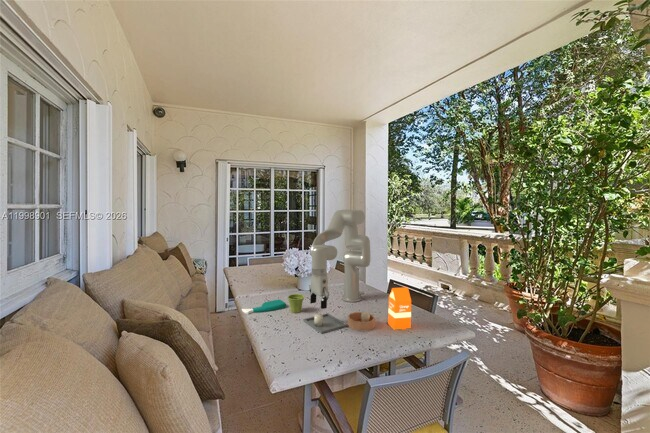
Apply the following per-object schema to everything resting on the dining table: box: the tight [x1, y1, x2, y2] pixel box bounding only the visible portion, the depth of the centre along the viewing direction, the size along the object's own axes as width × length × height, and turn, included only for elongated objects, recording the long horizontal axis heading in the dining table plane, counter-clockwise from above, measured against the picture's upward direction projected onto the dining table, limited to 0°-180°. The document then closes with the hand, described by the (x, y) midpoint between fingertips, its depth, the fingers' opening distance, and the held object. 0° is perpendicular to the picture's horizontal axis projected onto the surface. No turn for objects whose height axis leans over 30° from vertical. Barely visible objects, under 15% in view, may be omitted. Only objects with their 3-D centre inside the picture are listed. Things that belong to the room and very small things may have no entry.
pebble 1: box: [313, 313, 323, 327], centre depth 147 cm, size 4×4×5 cm
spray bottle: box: [241, 299, 287, 315], centre depth 171 cm, size 3×11×24 cm
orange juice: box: [387, 286, 412, 331], centre depth 148 cm, size 8×9×20 cm
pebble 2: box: [361, 311, 371, 322], centre depth 150 cm, size 4×4×5 cm
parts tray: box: [302, 313, 348, 335], centre depth 149 cm, size 16×18×2 cm
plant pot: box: [287, 293, 305, 314], centre depth 167 cm, size 9×9×9 cm
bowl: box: [347, 311, 376, 332], centre depth 149 cm, size 13×13×4 cm
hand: (318, 305), depth 146 cm, fingers open, 9 cm apart
